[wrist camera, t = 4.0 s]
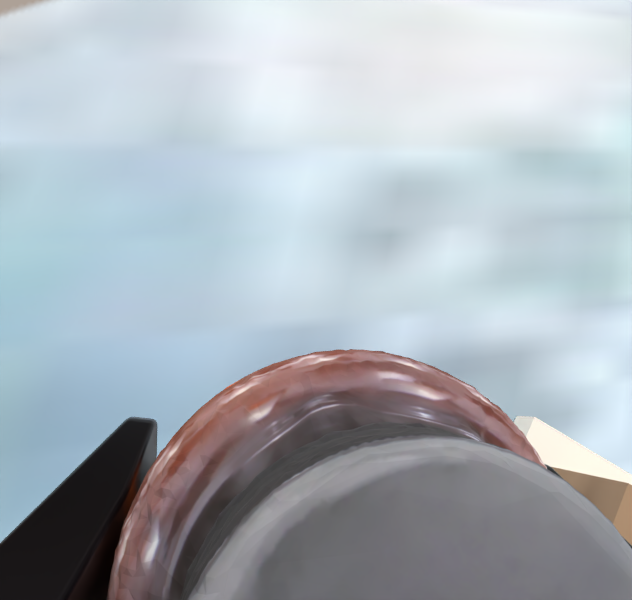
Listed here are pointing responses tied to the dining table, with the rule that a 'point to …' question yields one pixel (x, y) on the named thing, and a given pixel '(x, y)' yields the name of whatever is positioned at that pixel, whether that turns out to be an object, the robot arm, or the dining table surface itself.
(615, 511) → the walnut wall block
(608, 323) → the dining table surface
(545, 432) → the cream flat board
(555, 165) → the dining table surface
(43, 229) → the dining table surface
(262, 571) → the supplement bottle
